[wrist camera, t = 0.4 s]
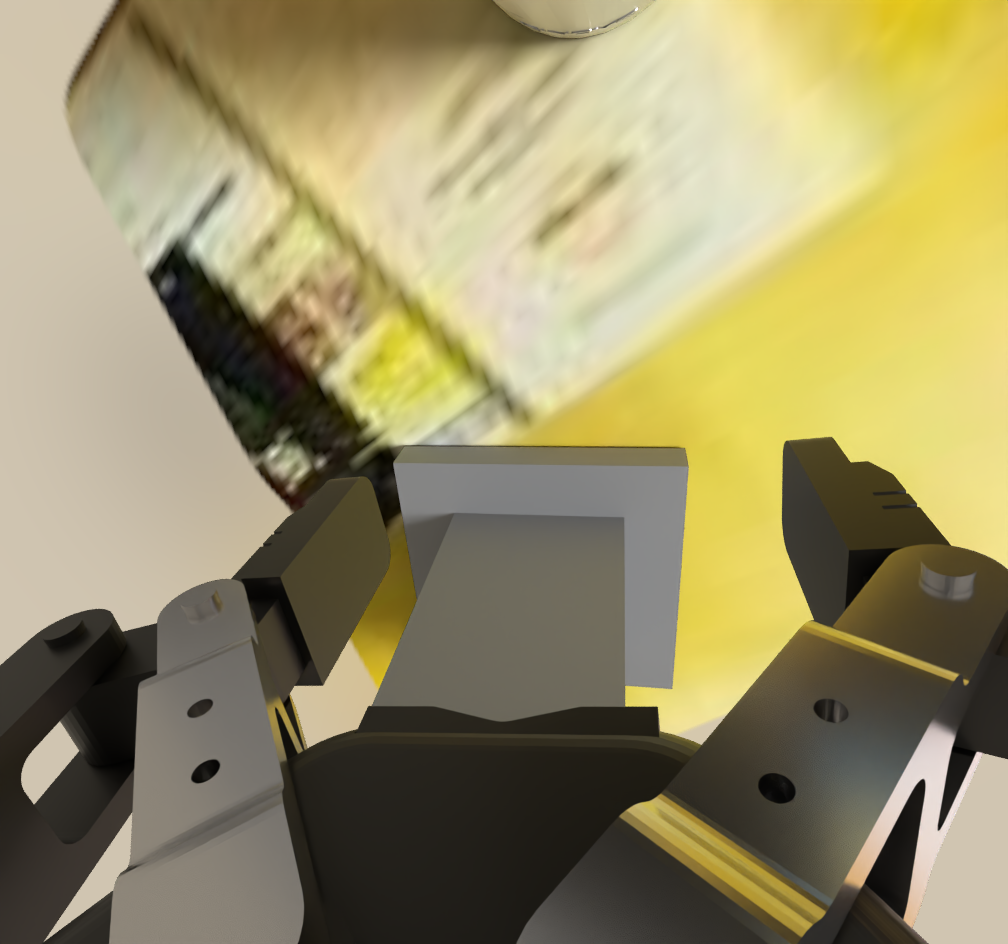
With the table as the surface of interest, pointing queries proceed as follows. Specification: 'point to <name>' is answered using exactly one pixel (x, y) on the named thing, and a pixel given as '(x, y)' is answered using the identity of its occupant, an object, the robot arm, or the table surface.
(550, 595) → the stand
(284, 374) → the table surface
